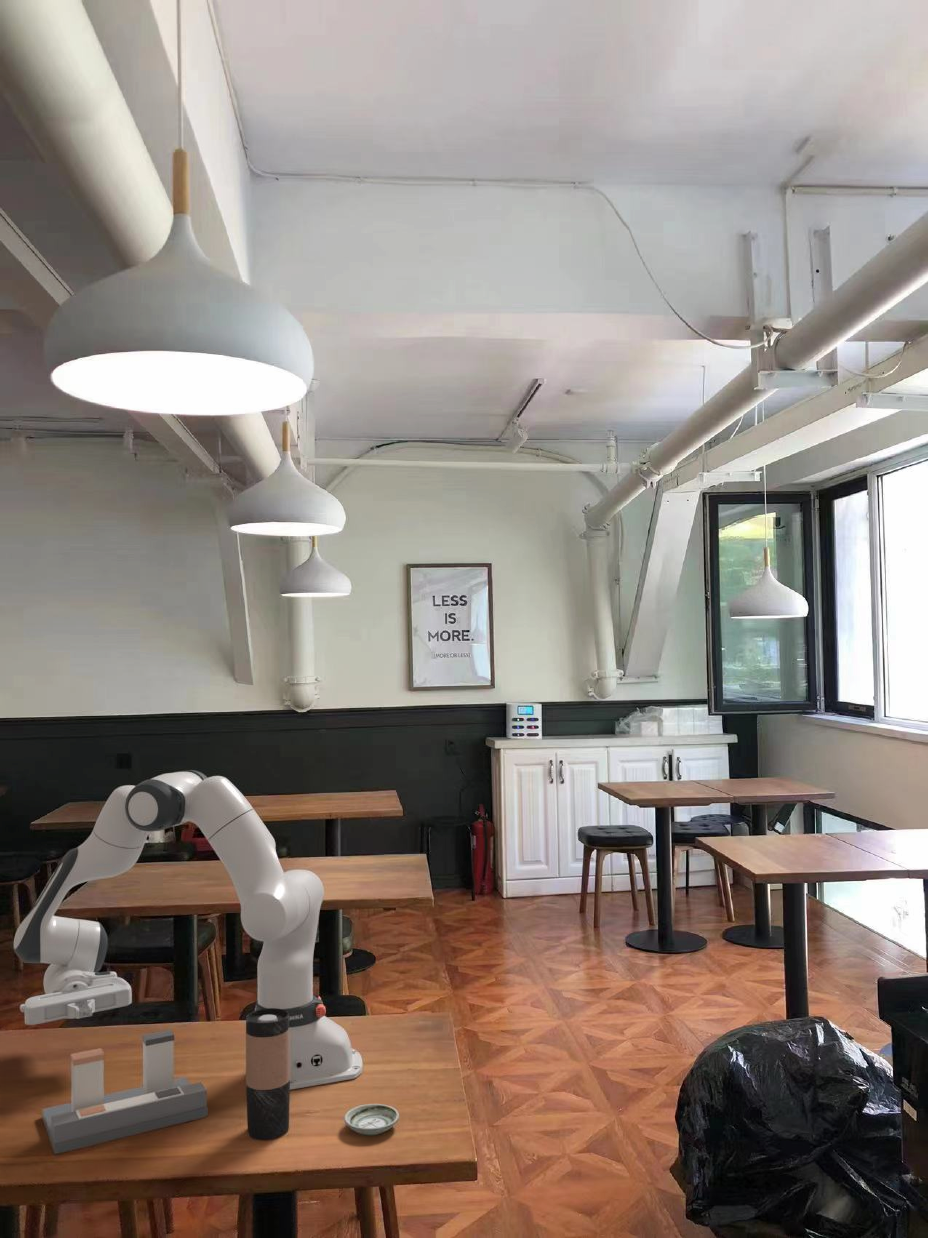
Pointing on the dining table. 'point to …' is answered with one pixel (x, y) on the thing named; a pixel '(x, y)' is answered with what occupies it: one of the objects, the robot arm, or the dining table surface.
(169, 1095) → the key console
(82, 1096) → the terracotta key
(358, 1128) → the saucer
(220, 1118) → the dining table surface
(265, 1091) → the travel mug
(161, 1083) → the charcoal key
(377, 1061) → the dining table surface
